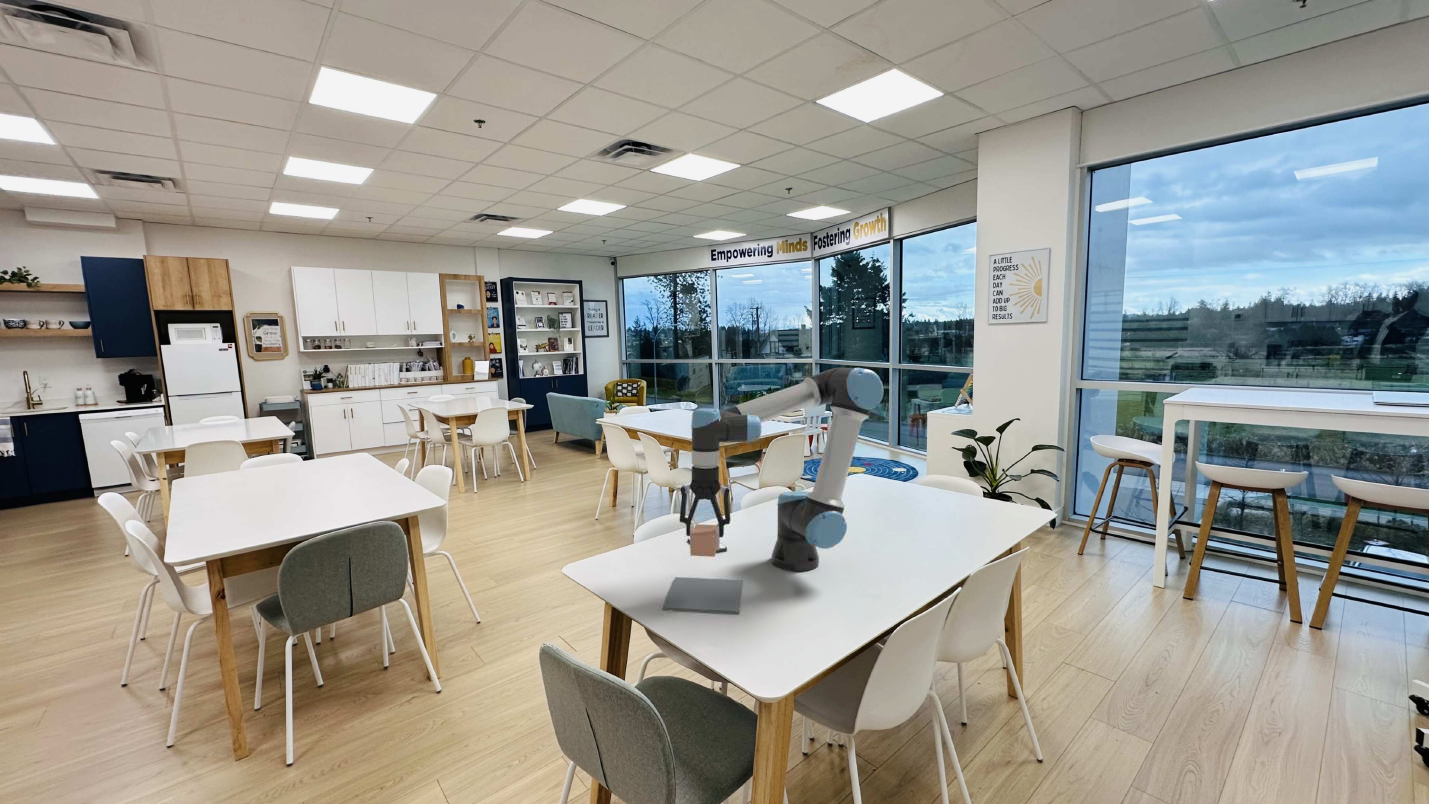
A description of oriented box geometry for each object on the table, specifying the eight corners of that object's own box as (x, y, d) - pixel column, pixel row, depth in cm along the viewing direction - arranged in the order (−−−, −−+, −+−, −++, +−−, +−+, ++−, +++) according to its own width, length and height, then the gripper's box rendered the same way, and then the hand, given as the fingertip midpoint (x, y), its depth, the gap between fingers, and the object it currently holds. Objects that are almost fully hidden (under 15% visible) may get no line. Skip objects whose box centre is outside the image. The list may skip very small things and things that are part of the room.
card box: (714, 556, 148) (714, 536, 148) (690, 555, 149) (690, 535, 148) (718, 544, 158) (718, 525, 158) (695, 543, 159) (696, 524, 158)
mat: (742, 582, 163) (742, 580, 163) (738, 614, 144) (738, 611, 144) (675, 579, 165) (675, 577, 165) (662, 610, 146) (662, 607, 146)
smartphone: (686, 542, 200) (705, 556, 186) (686, 538, 200) (705, 551, 186) (708, 539, 204) (728, 552, 190) (708, 534, 204) (728, 547, 190)
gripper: (741, 463, 154) (740, 544, 156) (672, 461, 156) (672, 541, 158) (740, 469, 147) (739, 554, 149) (667, 467, 149) (667, 551, 151)
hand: (704, 547), depth 153 cm, fingers closed on card box, 6 cm apart
